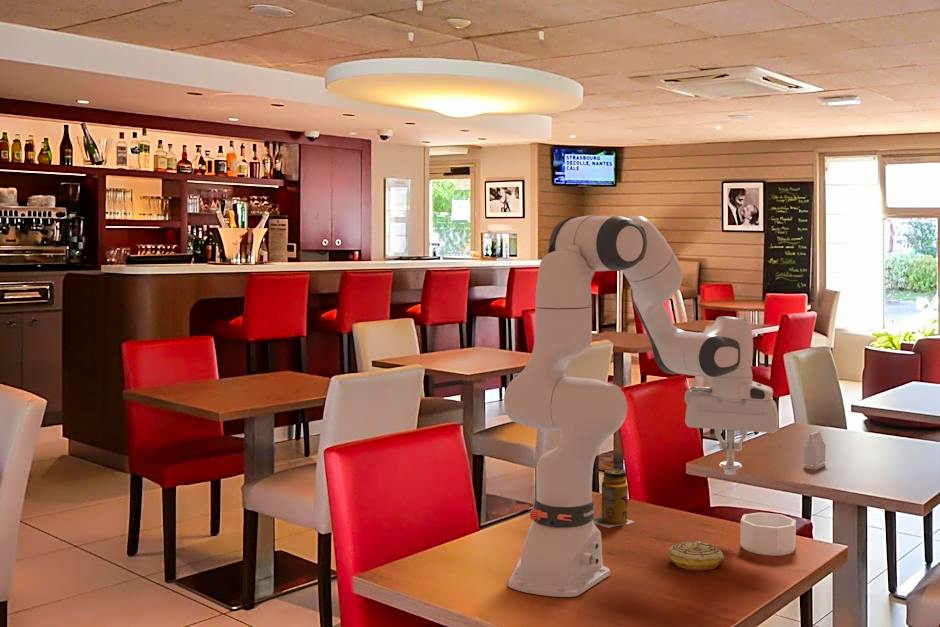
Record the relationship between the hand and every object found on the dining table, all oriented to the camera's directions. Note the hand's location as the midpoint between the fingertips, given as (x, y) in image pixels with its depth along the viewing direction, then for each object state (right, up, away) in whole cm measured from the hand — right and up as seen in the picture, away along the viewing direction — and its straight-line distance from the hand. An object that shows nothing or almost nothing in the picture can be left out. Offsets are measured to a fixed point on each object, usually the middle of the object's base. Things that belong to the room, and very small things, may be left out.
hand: (730, 449), depth 216 cm
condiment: (-25, -19, +9) cm, 33 cm away
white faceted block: (+42, -14, +63) cm, 77 cm away
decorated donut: (-13, -21, -20) cm, 32 cm away
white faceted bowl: (+5, -20, -10) cm, 23 cm away
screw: (0, -6, +1) cm, 6 cm away
